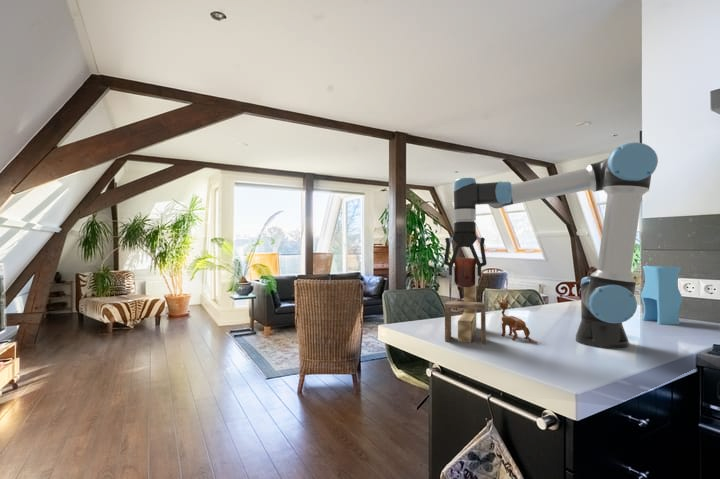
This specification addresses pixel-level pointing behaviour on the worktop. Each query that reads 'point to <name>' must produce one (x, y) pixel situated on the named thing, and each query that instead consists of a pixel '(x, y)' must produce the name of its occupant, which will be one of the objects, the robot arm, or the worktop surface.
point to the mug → (465, 272)
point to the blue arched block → (661, 294)
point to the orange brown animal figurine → (513, 323)
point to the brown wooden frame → (466, 306)
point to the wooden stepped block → (467, 317)
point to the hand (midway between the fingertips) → (465, 285)
